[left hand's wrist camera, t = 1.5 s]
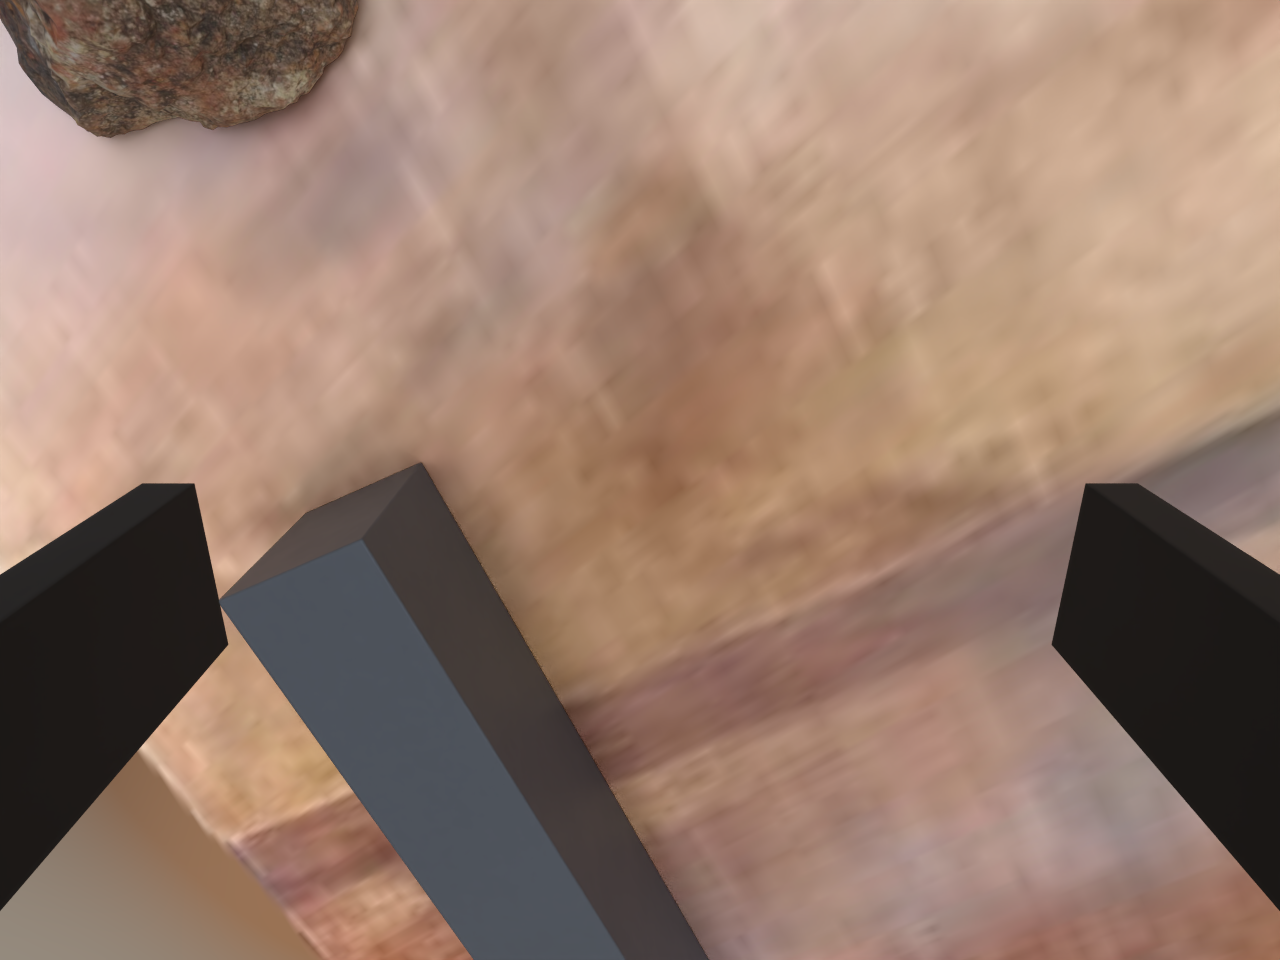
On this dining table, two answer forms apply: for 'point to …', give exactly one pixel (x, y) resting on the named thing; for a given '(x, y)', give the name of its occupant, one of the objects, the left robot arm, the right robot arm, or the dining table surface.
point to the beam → (452, 731)
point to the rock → (175, 56)
